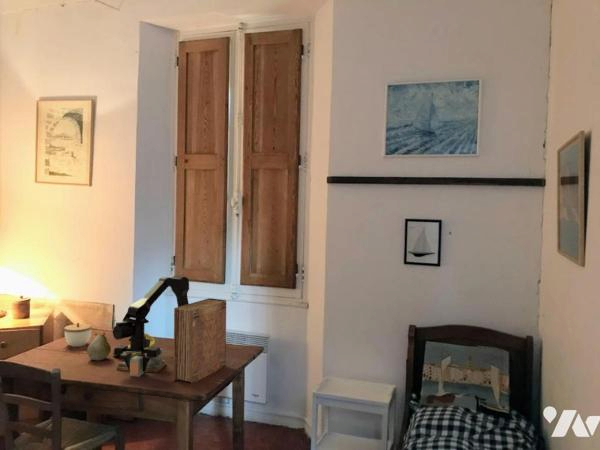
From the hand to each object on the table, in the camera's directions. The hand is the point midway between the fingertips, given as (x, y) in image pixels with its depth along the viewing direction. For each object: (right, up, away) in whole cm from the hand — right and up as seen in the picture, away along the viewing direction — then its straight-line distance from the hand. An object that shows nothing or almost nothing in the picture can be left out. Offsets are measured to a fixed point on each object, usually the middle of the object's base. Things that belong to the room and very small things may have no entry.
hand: (137, 371), depth 223 cm
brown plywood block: (+26, -2, +3) cm, 26 cm away
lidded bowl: (-43, +1, +42) cm, 60 cm away
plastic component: (-10, 0, +30) cm, 31 cm away
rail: (-1, -1, +9) cm, 9 cm away
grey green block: (0, -1, 0) cm, 1 cm away
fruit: (-24, 0, +19) cm, 31 cm away
